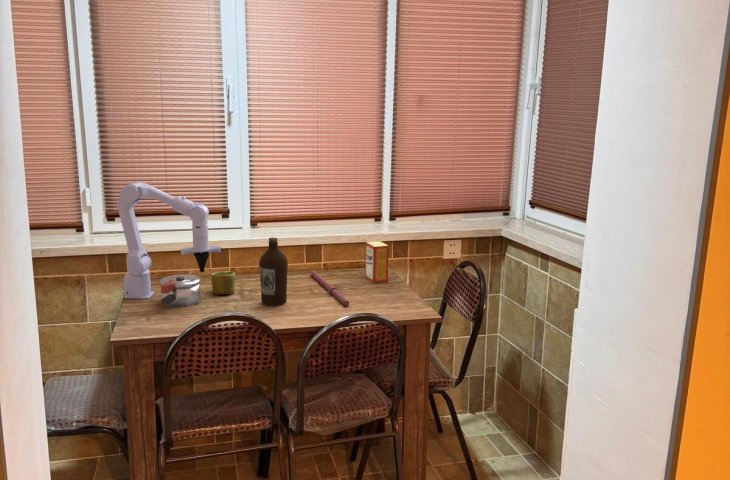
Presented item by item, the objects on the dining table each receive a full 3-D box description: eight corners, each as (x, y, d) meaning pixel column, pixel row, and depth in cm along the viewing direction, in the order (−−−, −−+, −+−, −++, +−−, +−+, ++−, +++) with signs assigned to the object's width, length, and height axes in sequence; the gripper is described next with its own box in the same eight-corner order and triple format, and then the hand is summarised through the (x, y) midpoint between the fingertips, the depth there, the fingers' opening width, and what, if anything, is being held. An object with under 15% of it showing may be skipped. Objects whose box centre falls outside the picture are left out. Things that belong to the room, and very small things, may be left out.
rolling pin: (350, 307, 242) (350, 299, 241) (342, 308, 241) (342, 300, 240) (316, 275, 283) (316, 268, 282) (309, 276, 282) (309, 269, 281)
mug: (232, 293, 248) (226, 268, 249) (209, 299, 251) (203, 274, 251) (246, 290, 260) (240, 266, 260) (224, 296, 263) (218, 272, 263)
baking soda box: (364, 276, 281) (365, 241, 277) (378, 275, 283) (379, 240, 279) (373, 282, 272) (374, 246, 268) (387, 281, 275) (388, 244, 271)
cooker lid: (170, 276, 250) (170, 268, 250) (206, 278, 248) (206, 270, 248) (145, 292, 230) (144, 284, 229) (183, 294, 228) (183, 286, 228)
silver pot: (172, 294, 252) (171, 277, 250) (206, 296, 250) (205, 279, 248) (147, 311, 233) (146, 292, 231) (184, 313, 230) (183, 295, 229)
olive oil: (271, 296, 252) (270, 233, 246) (293, 300, 247) (293, 237, 241) (254, 303, 243) (252, 239, 237) (276, 308, 238) (275, 242, 232)
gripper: (217, 233, 250) (219, 267, 253) (179, 235, 244) (181, 270, 248) (221, 237, 244) (222, 271, 247) (181, 239, 238) (183, 275, 241)
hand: (201, 271), depth 247 cm, fingers closed
